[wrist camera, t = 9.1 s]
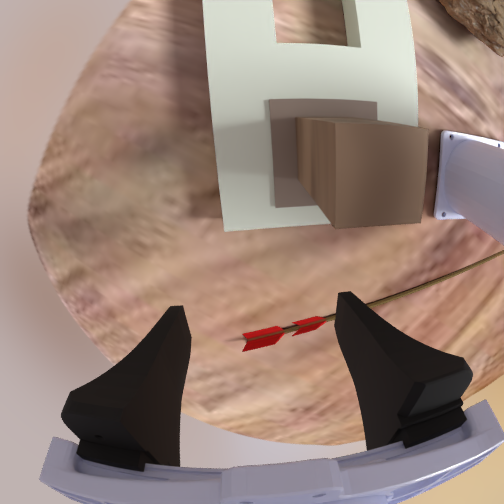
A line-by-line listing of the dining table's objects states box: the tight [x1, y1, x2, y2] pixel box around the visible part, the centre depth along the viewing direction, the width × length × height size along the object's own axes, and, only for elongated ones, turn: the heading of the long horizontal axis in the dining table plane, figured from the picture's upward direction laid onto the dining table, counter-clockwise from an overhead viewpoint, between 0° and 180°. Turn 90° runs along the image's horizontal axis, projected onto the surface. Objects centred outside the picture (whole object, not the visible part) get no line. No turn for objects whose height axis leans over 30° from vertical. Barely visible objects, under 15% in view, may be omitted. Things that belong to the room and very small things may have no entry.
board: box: [203, 0, 418, 232], centre depth 16 cm, size 14×20×3 cm
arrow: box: [242, 250, 504, 352], centre depth 26 cm, size 2×35×2 cm
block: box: [295, 117, 428, 229], centre depth 13 cm, size 4×4×8 cm
